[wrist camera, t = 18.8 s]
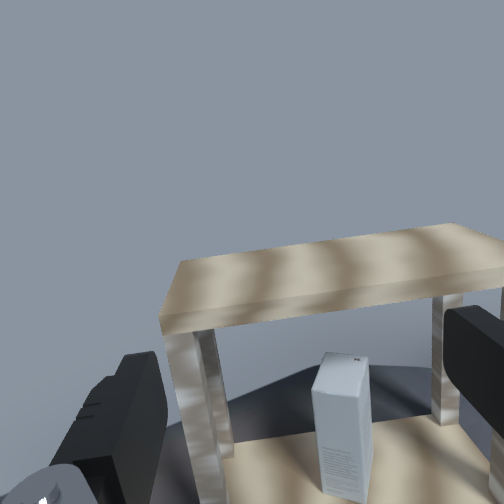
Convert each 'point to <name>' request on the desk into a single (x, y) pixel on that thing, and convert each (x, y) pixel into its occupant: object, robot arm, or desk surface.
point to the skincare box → (343, 425)
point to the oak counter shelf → (321, 301)
